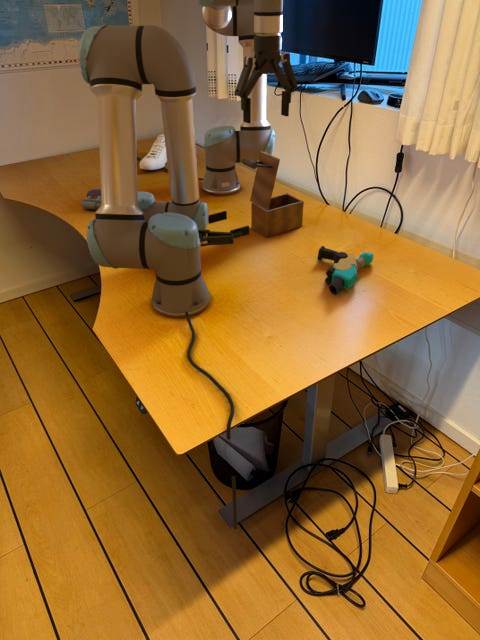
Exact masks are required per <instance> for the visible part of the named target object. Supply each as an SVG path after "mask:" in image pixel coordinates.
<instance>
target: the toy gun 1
mask: <svg viewBox="0 0 480 640" xmlns="http://www.w3.org/2000/svg"><path fill="white" fill-rule="evenodd" d="M80 207H82V209H86V210H95V211H97V210H98V209H99V208H100V207H101V188H92V189H91V190H88V191H87V193H86V198H83V199H82V202H81V204H80Z"/></svg>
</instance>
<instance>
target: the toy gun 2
mask: <svg viewBox="0 0 480 640" xmlns="http://www.w3.org/2000/svg"><path fill="white" fill-rule="evenodd" d="M317 253H318V254H317V260H318V261H323V260H330V261H333V264H332V266H329V268H327V270H326V271H325V275H326V277H325V279H324V282H325V284H327V285H328V290H329V292H330V293H331V295H333V296H338V294H339V293H340V292H342V290H343V288H344V289H346V290H348V289H350V288H351V287H353V286H354V285H355V284H356V282H357V281H358V272H357V271H358V270H360V269H362V268H363V267H364V266H366V267H368V266H369V265H370V264H371V263H372V262H373V261H374V258H375V257H374V253H373V252H371V251H364V252H361V253H360V254H359V256H358V257H356V255H355V254H353V253H349V252H344V251H337V250H334V249H330V248H327V247H325V245H321V246H320V247H319V249H318V251H317Z"/></svg>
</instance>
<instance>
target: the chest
mask: <svg viewBox="0 0 480 640" xmlns="http://www.w3.org/2000/svg"><path fill="white" fill-rule="evenodd" d="M304 202H305V201H304V200H302V199H300V198H298V197H297V196H294V195H292V194H290V193H288V192H286V193H282V194H279V195H275V196H272V197H271V201H270V206H269V210H265V209H264V208H262V207H260V206H258V205H256V204H255V203H253V202H251V209H250V211H251V212H250V213H251V214H250V215H251V216H250V217H251V220H250V221H251V222H250V223H251V227H250V228H251V229H252V230H254V231H256V232H257V233H258V234H260V235H262V236H263V237H265V238H270V237H274V236H276V235H279V234H283V233H286V232H289V231H292V230H295V229H298V228H302V227H303V218H304V217H303V216H304Z"/></svg>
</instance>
